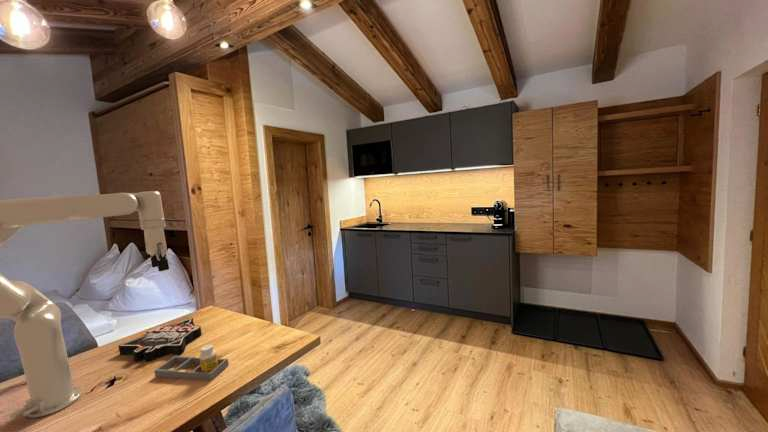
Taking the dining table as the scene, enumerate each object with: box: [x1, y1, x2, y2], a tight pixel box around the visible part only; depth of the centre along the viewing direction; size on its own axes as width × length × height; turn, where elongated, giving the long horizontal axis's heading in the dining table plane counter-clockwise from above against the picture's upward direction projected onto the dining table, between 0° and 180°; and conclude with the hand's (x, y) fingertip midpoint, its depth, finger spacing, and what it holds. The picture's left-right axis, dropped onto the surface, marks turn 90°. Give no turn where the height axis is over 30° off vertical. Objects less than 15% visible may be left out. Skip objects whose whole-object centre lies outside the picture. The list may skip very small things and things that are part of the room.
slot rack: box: [153, 355, 230, 382], centre depth 114 cm, size 9×23×3 cm, turn 80°
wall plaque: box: [118, 317, 203, 363], centre depth 137 cm, size 28×4×30 cm
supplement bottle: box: [199, 344, 218, 372], centre depth 112 cm, size 5×5×10 cm
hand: (160, 268), depth 119 cm, fingers open, 9 cm apart
